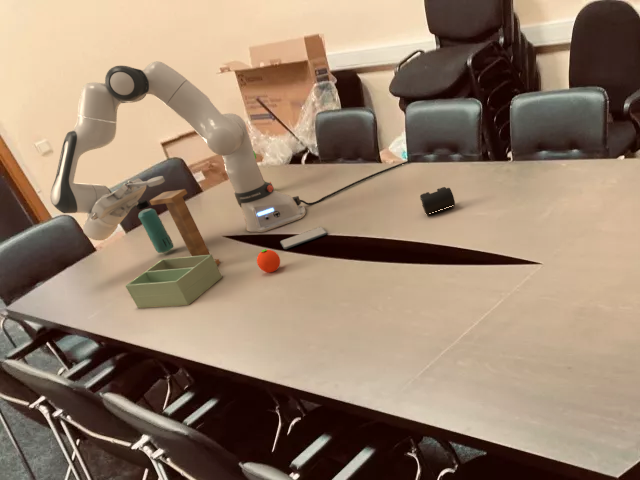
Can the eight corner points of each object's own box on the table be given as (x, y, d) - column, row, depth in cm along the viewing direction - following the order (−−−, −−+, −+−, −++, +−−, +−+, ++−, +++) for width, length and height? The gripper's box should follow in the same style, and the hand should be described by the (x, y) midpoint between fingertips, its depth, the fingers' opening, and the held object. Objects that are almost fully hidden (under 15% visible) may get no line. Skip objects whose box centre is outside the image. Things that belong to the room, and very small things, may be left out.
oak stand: (186, 274, 238) (149, 200, 224) (199, 264, 244) (163, 192, 230) (208, 272, 235) (171, 197, 221) (220, 262, 241) (185, 189, 227)
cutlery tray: (138, 308, 223) (125, 285, 218) (174, 280, 236) (162, 258, 232) (188, 305, 215) (176, 281, 211) (222, 276, 229) (211, 254, 225)
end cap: (428, 219, 231) (422, 199, 227) (423, 213, 237) (417, 193, 233) (457, 209, 232) (451, 189, 229) (451, 203, 238) (446, 184, 234)
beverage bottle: (170, 255, 259) (143, 203, 248) (155, 257, 261) (127, 206, 250) (179, 247, 264) (153, 196, 254) (165, 250, 266) (138, 199, 255)
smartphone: (327, 232, 239) (283, 247, 235) (328, 235, 240) (285, 250, 236) (321, 226, 246) (279, 241, 242) (322, 228, 246) (280, 243, 243)
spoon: (119, 190, 227) (117, 186, 226) (130, 184, 231) (128, 180, 230) (157, 185, 221) (155, 181, 220) (168, 179, 225) (166, 175, 224)
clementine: (260, 270, 226) (251, 249, 222) (281, 262, 228) (273, 242, 224) (263, 278, 220) (253, 257, 216) (285, 270, 221) (276, 249, 217)
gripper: (81, 213, 226) (97, 189, 218) (125, 189, 242) (142, 165, 234) (97, 228, 228) (114, 204, 220) (140, 203, 244) (157, 180, 236)
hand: (129, 184), depth 227 cm, fingers closed on spoon, 1 cm apart
